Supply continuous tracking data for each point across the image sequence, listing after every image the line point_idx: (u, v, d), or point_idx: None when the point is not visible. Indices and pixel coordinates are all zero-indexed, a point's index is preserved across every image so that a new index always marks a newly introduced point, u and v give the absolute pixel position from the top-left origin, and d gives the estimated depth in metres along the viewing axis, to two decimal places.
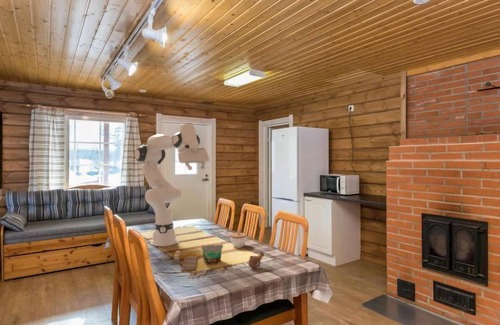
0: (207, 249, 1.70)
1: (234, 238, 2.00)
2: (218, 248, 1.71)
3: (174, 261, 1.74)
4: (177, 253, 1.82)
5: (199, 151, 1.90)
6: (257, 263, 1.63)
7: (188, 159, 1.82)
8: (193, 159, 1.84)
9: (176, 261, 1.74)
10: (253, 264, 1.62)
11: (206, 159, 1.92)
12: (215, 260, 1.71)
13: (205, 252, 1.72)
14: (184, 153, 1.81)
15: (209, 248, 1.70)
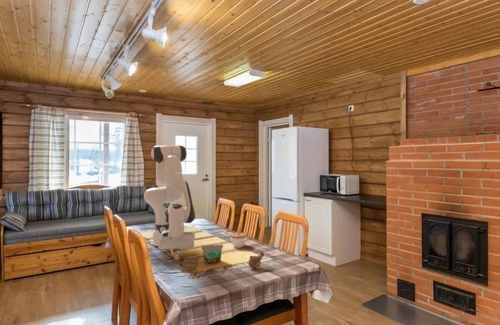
0: (207, 249, 1.70)
1: (234, 238, 2.00)
2: (218, 248, 1.71)
3: (174, 261, 1.74)
4: (177, 253, 1.82)
5: (182, 237, 1.80)
6: (257, 263, 1.63)
7: (166, 247, 1.79)
8: (172, 247, 1.79)
9: (176, 261, 1.74)
10: (253, 264, 1.62)
11: (189, 246, 1.80)
12: (215, 260, 1.71)
13: (205, 252, 1.72)
14: (162, 241, 1.78)
15: (209, 248, 1.70)
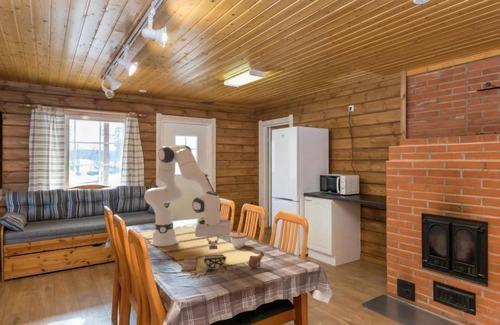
0: (208, 267, 1.62)
1: (234, 238, 2.00)
2: None
3: (212, 246, 1.71)
4: (213, 241, 1.79)
5: (219, 225, 1.77)
6: (257, 263, 1.63)
7: (202, 234, 1.76)
8: (208, 234, 1.77)
9: (214, 246, 1.71)
10: (253, 264, 1.62)
11: (226, 234, 1.78)
12: None
13: None
14: (198, 228, 1.76)
15: (211, 268, 1.62)
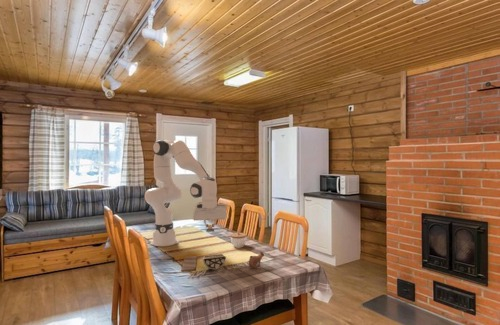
0: None
1: (234, 238, 2.00)
2: None
3: (209, 229, 1.79)
4: None
5: (215, 209, 1.85)
6: (257, 263, 1.63)
7: (200, 218, 1.84)
8: (206, 218, 1.84)
9: (211, 229, 1.79)
10: (253, 264, 1.62)
11: (222, 218, 1.86)
12: None
13: None
14: (196, 212, 1.83)
15: (210, 268, 1.62)
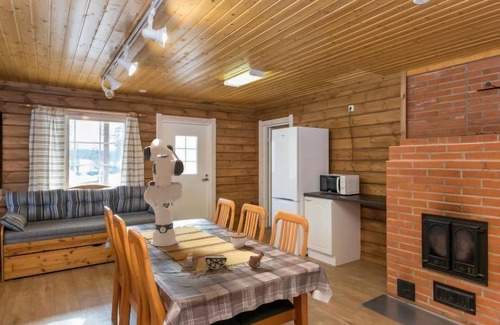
0: (209, 267, 1.62)
1: (234, 238, 2.00)
2: (220, 267, 1.63)
3: (187, 264, 1.65)
4: (190, 255, 1.73)
5: (169, 187, 1.79)
6: (257, 263, 1.63)
7: (153, 196, 1.78)
8: (159, 196, 1.79)
9: (189, 264, 1.65)
10: (253, 264, 1.62)
11: (177, 196, 1.80)
12: None
13: None
14: (149, 190, 1.78)
15: (211, 268, 1.62)
